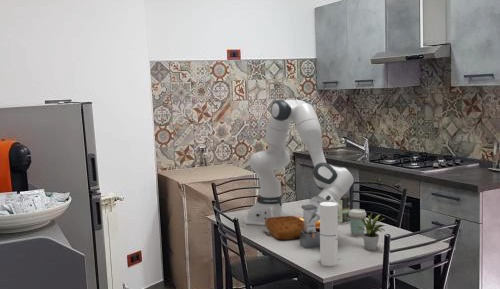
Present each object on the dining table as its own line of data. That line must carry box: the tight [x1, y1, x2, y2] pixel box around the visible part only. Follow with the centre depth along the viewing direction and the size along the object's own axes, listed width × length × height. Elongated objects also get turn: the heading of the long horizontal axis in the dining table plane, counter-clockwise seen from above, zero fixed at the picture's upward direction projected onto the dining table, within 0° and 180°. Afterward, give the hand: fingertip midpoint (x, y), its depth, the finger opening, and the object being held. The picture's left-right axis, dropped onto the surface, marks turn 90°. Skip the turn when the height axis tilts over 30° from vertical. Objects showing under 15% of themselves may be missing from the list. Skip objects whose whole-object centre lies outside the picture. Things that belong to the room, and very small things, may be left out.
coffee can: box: [337, 193, 351, 225], centre depth 269 cm, size 10×10×14 cm
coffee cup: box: [349, 208, 367, 238], centre depth 245 cm, size 8×8×12 cm
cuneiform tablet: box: [264, 215, 304, 241], centre depth 247 cm, size 22×17×8 cm
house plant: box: [357, 212, 386, 251], centre depth 224 cm, size 14×14×16 cm
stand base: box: [299, 230, 320, 250], centre depth 228 cm, size 12×12×8 cm
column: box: [301, 204, 317, 234], centre depth 227 cm, size 5×5×18 cm
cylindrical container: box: [319, 202, 339, 267], centre depth 207 cm, size 7×7×25 cm
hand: (308, 222), depth 226 cm, fingers closed on column, 4 cm apart
